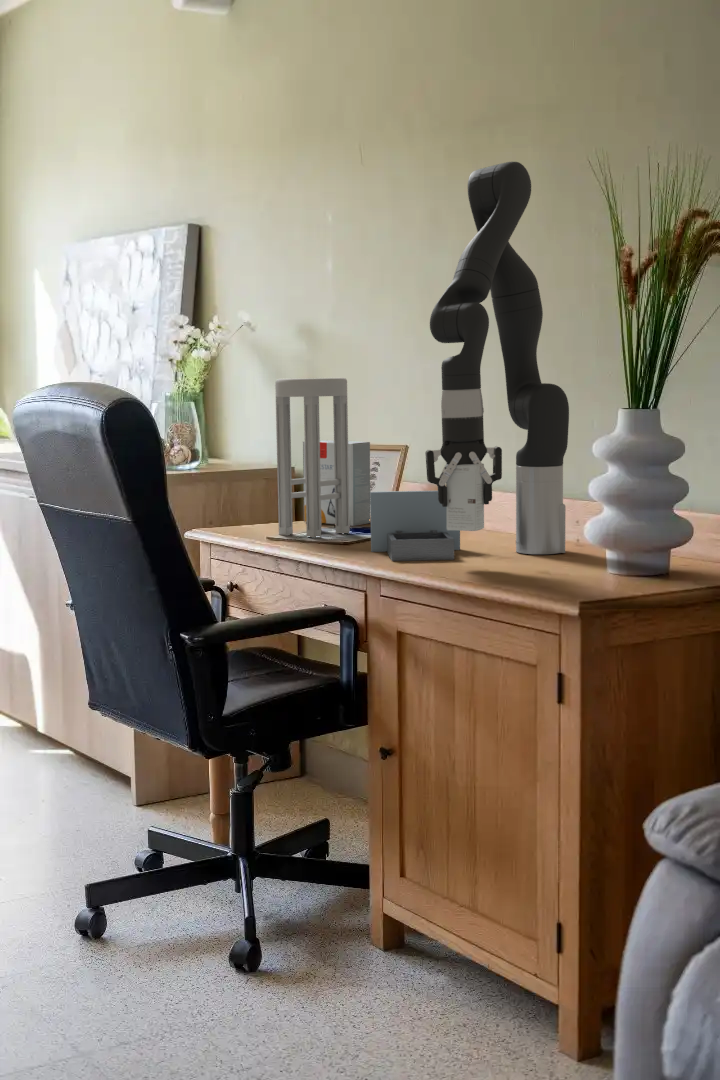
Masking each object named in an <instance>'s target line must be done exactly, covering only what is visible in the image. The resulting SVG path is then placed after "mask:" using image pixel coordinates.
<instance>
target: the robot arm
mask: <svg viewBox="0 0 720 1080" xmlns="http://www.w3.org/2000/svg"><path fill="white" fill-rule="evenodd" d="M531 180H532V179H531V177H530V173H529V172H528V170H527V168H526V167H525V166H524V164H522V163H521V162H518V161H507V162H501V163H499V164H493V165H490V166H487V167H483V168H479V169H476V170H473V171H472V172H471V173H470V175H469V177H468V180H467V196H468V197H467V198H468V201H469V207H470V210H471V213H472V217H473V221H474V225H475V229H476V232H477V233H476V234H475V235H474V236H473V238H472V239H471V240H470V241H469V242H468V244H467V245H466V246H465V248H464V249H463V250H462V253H461V255H460V257H459V260H458V262H457V266H456V268H455V272H454V275H453V277H452V278H453V279H452V280H451V282H450V284H449V285H448V286H447V287H446V289H445V290H444V292H443V294H442V295H441V297H440V298H439V300H438V301H437V302H436V303H435V305H434V307H433V309H432V311H431V314H430V319H429V330H430V332H431V333H430V334H431V335H432V337H433V338H434V339H435V341H437V342H438V343H440V344H456V343H458V344H459V343H463V346H462V348H461V350H460V352H459V353H458V354H456V355H453V356H449V357H447V358H444V359H443V360H442V362H441V391H442V392H441V399H440V400H441V401H440V402H441V404H440V405H441V410H440V411H441V432H442V433H441V435H442V436H441V437H442V444H441V448H440V449H433V450H431V449H427V450H426V451H425V467H426V468H425V469H426V479H427V480H426V481H427V482H428V483H430V484H432V485H436V486H437V491H438V501H439V503H440V504H442V506H443V507H447V487H446V482H447V480H448V478H449V477H450V476H451V474H452V472H453V470H454V469H455V467H456V465H462V464H479V465H480V467H481V468H480V474H481V476H482V477H483V479H484V506H485V505H489V504H490V502H492V500H493V483H495V482H496V481H500V480H501V479H502V477H503V450H502V448H501V446H497V445H496V446H493V447H487V446H486V444H485V438H484V437H485V436H484V435H485V433H484V432H485V431H484V412H485V410H484V402H483V394H482V384H481V382H482V379H481V366H482V360H483V355H484V350H485V345H486V340H487V337H488V332H489V328H490V318H489V314H488V311H487V309H486V308H485V306H483V304H482V302H484V301H485V300H486V299H487V298H488V296H489V294H490V297H491V302H492V308H493V312H494V313H493V314H494V317H495V322H496V325H497V332H498V336H499V343H500V348H501V353H502V359H503V365H504V366H503V367H504V374H505V387H506V388H505V389H506V400H507V407H508V412H509V415H510V418H511V419H512V421H513V423H514V424H515V425H516V426H517V427H519V428H520V429H523V430H526V431H527V436H526V442H525V444H524V445H523V446H522V447H521V448H520V449H518V450H517V452H516V454H515V552H516V553H519V554H524V555H525V554H526V555H527V554H528V555H554V554H561V553H563V554H565V553H566V504H565V503H564V457H565V455H566V453H567V449H568V446H569V445H568V443H569V428H570V427H569V424H570V406H569V399H568V397H567V394H566V393H565V391H564V390H563V389H562V387H560V386H559V385H557V384H553V383H546V382H545V383H543V382H542V380H541V375H540V372H539V367H538V366H539V365H538V356H537V354H538V353H537V352H538V350H537V349H538V346H539V345H538V344H539V339H540V335H541V330H542V324H543V316H544V315H543V314H544V313H543V304H542V300H541V293H540V289H539V283H538V279H537V277H536V275H535V273H534V272H533V271H532V270H533V269H531V268H530V267H529V266H528V264H527V263H526V261H524V260H523V258H522V257H521V256H520V255H519V253H518V252H517V251H516V250H515V249H514V248H513V246H512V245H511V243H510V239H511V237H512V235H513V234H514V232H515V230H516V228H517V227H518V223H519V222H520V220H521V218H522V216H523V214H524V212H525V210H526V209H527V207H528V204H529V202H530V200H531V199H530V198H531V196H532V195H531V194H532V181H531ZM487 454H488V456H489V458H490V459H492V473H491V474H489V473H488V472H487V469H486V468H485V465H484V466H483V465H482V464H483V463H482V461H483V459H484V458H485V457H486V455H487ZM440 456H441V458H442V459H443V460H444V461H445V465H444V467H443V469H442V470H441V474H440V475H439V476H438V477H436V467H435V463H437V462H438V460H439V457H440ZM446 465H448V467H447V468H446ZM450 468H451V469H450Z"/></svg>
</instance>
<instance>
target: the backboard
mask: <svg viewBox="0 0 720 1080" xmlns="http://www.w3.org/2000/svg"><path fill="white" fill-rule="evenodd" d="M446 511H447V510H446V507H443V506H442V504H440V503H439V501H438V490H404V491H403V490H402V491H401V490H396V491H370V550H371V551H370V552H374V553H375V552H387V533H396V531H399V530H402V533H411V532H430V530H437V532H447V533H448V534H449V535H451V536H452V537H453V538H454V551H460V550H461V531H460V530H447V515H446V514H447V513H446Z"/></svg>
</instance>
